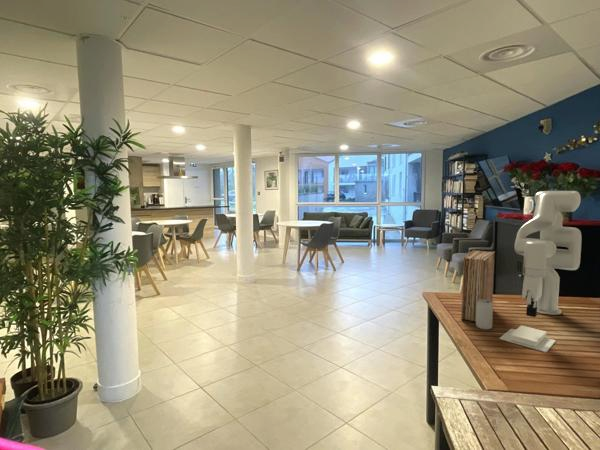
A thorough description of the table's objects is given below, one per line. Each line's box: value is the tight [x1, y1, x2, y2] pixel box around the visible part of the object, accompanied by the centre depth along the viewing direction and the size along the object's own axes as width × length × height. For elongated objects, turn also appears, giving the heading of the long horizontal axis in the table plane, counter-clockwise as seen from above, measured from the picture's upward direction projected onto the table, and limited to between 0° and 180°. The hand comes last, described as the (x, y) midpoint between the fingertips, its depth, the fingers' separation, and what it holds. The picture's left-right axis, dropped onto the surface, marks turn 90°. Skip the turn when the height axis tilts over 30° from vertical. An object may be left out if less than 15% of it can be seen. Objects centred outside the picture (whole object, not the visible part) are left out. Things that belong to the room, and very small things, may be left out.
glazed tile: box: [510, 324, 547, 347], centre depth 139 cm, size 2×9×14 cm
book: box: [460, 248, 496, 323], centre depth 167 cm, size 25×9×30 cm, turn 143°
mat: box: [499, 328, 557, 353], centre depth 139 cm, size 14×16×1 cm
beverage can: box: [475, 299, 494, 331], centre depth 151 cm, size 6×6×12 cm
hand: (531, 315), depth 140 cm, fingers closed
